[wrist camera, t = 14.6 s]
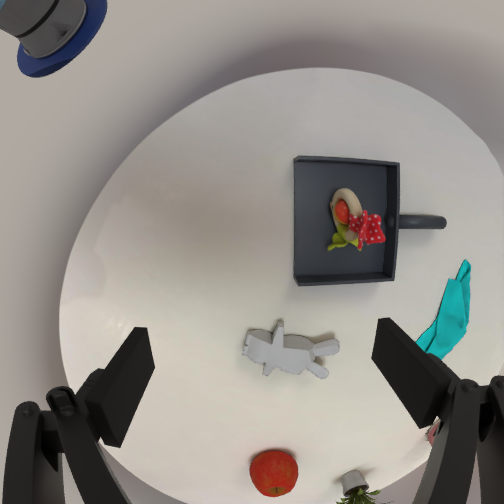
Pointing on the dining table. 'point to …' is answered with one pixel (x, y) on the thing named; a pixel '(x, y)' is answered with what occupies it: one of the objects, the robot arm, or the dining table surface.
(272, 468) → the apple
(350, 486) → the house plant
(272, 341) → the bunny figurine
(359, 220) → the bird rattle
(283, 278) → the dining table surface
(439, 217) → the scoop
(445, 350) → the cloth
